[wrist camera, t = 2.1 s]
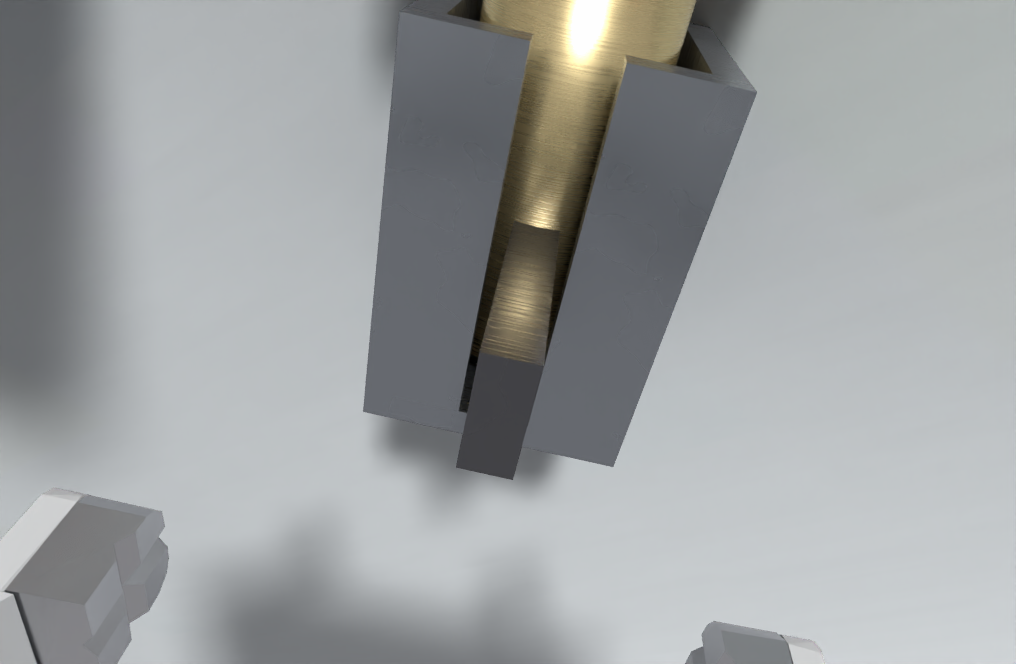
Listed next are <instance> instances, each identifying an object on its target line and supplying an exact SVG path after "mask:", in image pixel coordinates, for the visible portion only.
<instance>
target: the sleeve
mask: <svg viewBox="0 0 1016 664" xmlns="http://www.w3.org/2000/svg"><path fill="white" fill-rule="evenodd" d="M482 4H483V0H417V1H415V2H414V3H412V4H410V5H409V6H407V7H406V8H404V9H403V10H401V11H399V22H398V33H397V44H396V55H395V66H394V77H393V88H392V99H391V110H390V121H389V132H388V143H387V154H386V165H385V176H384V187H383V198H382V209H381V221H380V232H379V243H378V254H377V265H376V276H375V287H374V298H373V309H372V320H371V331H370V342H369V353H368V364H367V375H366V386H365V397H364V408H363V412H367V413H372V414H376V415H381V416H385V417H390V418H394V419H399V420H403V421H408V422H412V423H417V424H421V425H426V426H430V427H435V428H439V429H444V430H448V431H453V432H457V433H462V434H463V431H464V426H465V421H466V416H467V411H468V406H469V401H470V396H471V391H472V386H473V382H474V377H475V372H476V367H477V362H478V357H476V356H474V355H472V354H471V352H472V347H473V342H474V336H475V331H476V326H477V321H478V316H479V311H480V306H481V301H482V295H483V290H484V285H485V280H486V275H487V270H488V265H489V260H490V254H491V249H492V244H493V239H494V234H495V229H496V224H497V219H498V213H499V208H500V203H501V198H502V193H503V188H504V183H505V178H506V172H507V167H508V162H509V157H510V152H511V147H512V142H513V137H514V132H515V126H516V121H517V116H518V111H519V106H520V101H521V96H522V91H523V85H524V80H525V75H526V70H527V65H528V60H529V55H530V50H531V44H532V39H533V34H532V33H528V32H524V31H519V30H515V29H510V28H506V27H502V26H497V25H493V24H488V23H484V22H480V17H481V10H482ZM756 94H757V91H756V90H755V89H754V87H753V86H752V85H751V83H750V82H749V81H748V79H747V78H746V76H745V75H744V74H743V72H742V71H741V70H740V68H739V67H738V65H737V64H736V63H735V61H734V60H733V59H732V57H731V56H730V55H729V53H728V52H727V50H726V49H725V48H724V46H723V45H722V44H721V42H720V41H719V39H718V38H717V37H716V35H715V34H714V33H713V31H712V30H711V29H710V28H709V27H704V26H700V25H696V24H691V23H689V26H688V29H687V32H686V36H685V39H684V42H683V45H682V48H681V52H680V55H679V58H678V61H677V64H676V66H674V65H670V64H665V63H661V62H656V61H652V60H648V59H643V58H639V57H634V56H630V55H626V56H625V59H624V63H623V67H622V71H621V74H620V78H619V82H618V85H617V89H616V93H615V96H614V100H613V104H612V108H611V111H610V115H609V119H608V122H607V126H606V130H605V133H604V137H603V141H602V145H601V148H600V152H599V156H598V159H597V163H596V167H595V170H594V174H593V178H592V182H591V185H590V189H589V193H588V196H587V200H586V204H585V207H584V211H583V215H582V219H581V222H580V226H579V230H578V233H577V237H576V241H575V244H574V248H573V252H572V256H571V259H570V263H569V267H568V270H567V274H566V278H565V281H564V285H563V289H562V293H561V296H560V300H559V304H558V307H557V311H556V315H555V318H554V322H553V326H552V330H551V333H550V337H549V341H548V344H547V348H546V352H545V359H544V367H543V370H542V374H541V378H540V382H539V385H538V389H537V393H536V396H535V400H534V404H533V407H532V411H531V415H530V418H529V422H528V426H527V429H526V433H525V437H524V440H523V444H522V447H525V448H530V449H534V450H539V451H543V452H548V453H552V454H557V455H561V456H566V457H570V458H575V459H579V460H584V461H588V462H593V463H597V464H602V465H606V466H611V467H613V466H614V463H615V461H616V458H617V456H618V453H619V450H620V448H621V445H622V443H623V440H624V437H625V435H626V432H627V430H628V427H629V424H630V422H631V419H632V417H633V414H634V411H635V409H636V406H637V404H638V401H639V398H640V396H641V393H642V391H643V388H644V385H645V383H646V380H647V378H648V375H649V372H650V370H651V367H652V365H653V362H654V359H655V357H656V354H657V352H658V349H659V346H660V344H661V341H662V339H663V336H664V333H665V331H666V328H667V325H668V323H669V320H670V318H671V315H672V312H673V310H674V307H675V305H676V302H677V299H678V297H679V294H680V292H681V289H682V286H683V284H684V281H685V279H686V276H687V273H688V271H689V268H690V266H691V263H692V260H693V258H694V255H695V253H696V250H697V247H698V245H699V242H700V240H701V237H702V234H703V232H704V229H705V227H706V224H707V221H708V219H709V216H710V214H711V211H712V208H713V206H714V203H715V200H716V198H717V195H718V193H719V190H720V187H721V185H722V182H723V180H724V177H725V174H726V172H727V169H728V167H729V164H730V161H731V159H732V156H733V154H734V151H735V148H736V146H737V143H738V141H739V138H740V135H741V133H742V130H743V128H744V125H745V122H746V120H747V117H748V115H749V112H750V109H751V107H752V104H753V102H754V99H755V96H756Z"/></svg>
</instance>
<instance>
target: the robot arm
mask: <svg viewBox="0 0 1016 664" xmlns="http://www.w3.org/2000/svg"><path fill="white" fill-rule="evenodd" d="M164 527H165V524H164V519H163V514H162V511H159V510H154V509H150V508H145V507H141V506H136V505H132V504H127V503H122V502H118V501H113V500H109V499H104V498H100V497H95V496H91V495H87V494H82V493H78V492H73V491H68V490H63V489H58V488H52V489H50V490H49V491H47V492H45V493H44V494H42V495H40V496H39V497H38V498H37V499H36V501H35V502H34V503H33V504H32V505H31V506H30V507H29V508H28V509H27V511H26V512H25V513H24V514H23V515H22V516H21V517H20V518H19V519H18V521H17V522H16V523H15V524H14V525H13V526H12V527H11V528H10V529H9V531H8V532H7V533H6V534H5V535H4V536H3V537H2V538H1V539H0V664H117V663H118V661H119V660H120V658H121V656H122V655H123V653H124V652H125V650H126V648H127V647H128V645H129V643H130V642H131V640H132V638H131V631H130V624H129V623H130V622H132V621H134V620H135V619H137V618H139V617H140V616H142V615H143V614H145V613H147V612H148V611H149V610H150V608H151V606H152V605H153V603H154V601H155V600H156V598H157V596H158V594H159V593H160V590H161V587H162V584H163V582H164V579H165V576H166V573H167V568H168V560H169V555H168V547H167V546H166V545H165V543H164V542H163V541H162V540H161V539H160V538H159V535H160V533H161V532H162V530H163V529H164ZM702 641H703V647H700V648H698V649H696V650H694V651H691V653H690V655H689V657H688V659H687V661H686V663H685V664H825V661H824V658H823V655H822V651H821V649H820V648H819V646H818V645H817V644H816V642H814V641H811V640H807V639H802V638H796V637H791V636H785V635H779V634H778V633H776V632H770V631H765V630H759V629H754V628H749V627H743V626H738V625H732V624H727V623H721V622H716V621H713V622H711V623H709V624H708V625H707V626H706V628H705V630H704V631H703V633H702Z"/></svg>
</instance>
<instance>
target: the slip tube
mask: <svg viewBox="0 0 1016 664" xmlns="http://www.w3.org/2000/svg"><path fill="white" fill-rule="evenodd" d="M695 4H696V0H483V4H482V10H481V17H480V22H484V23H488V24H493V25H497V26H502V27H506V28H510V29H515V30H519V31H524V32H528V33H532V34H533V39H532V44H531V50H530V55H529V60H528V65H527V70H526V75H525V80H524V85H523V91H522V96H521V101H520V106H519V111H518V116H517V121H516V126H515V132H514V137H513V142H512V147H511V152H510V157H509V162H508V167H507V172H506V178H505V183H504V188H503V193H502V198H501V203H500V208H499V213H498V219H497V224H496V229H495V234H494V239H493V244H492V249H491V254H490V260H489V265H488V270H487V275H486V280H485V285H484V290H483V295H482V301H481V306H480V311H479V316H478V321H477V326H476V331H475V336H474V342H473V347H472V352H471V354H472V355H474V356H476V357H478V362H477V367H476V372H475V377H474V382H473V386H472V391H471V396H470V401H469V406H468V411H467V416H466V421H465V426H464V431H463V436H462V441H461V445H460V450H459V455H458V460H457V465H456V467H457V468H461V469H466V470H470V471H475V472H479V473H484V474H488V475H493V476H497V477H502V478H506V479H511V480H513V477H514V473H515V470H516V466H517V462H518V459H519V455H520V451H521V448H522V444H523V440H524V437H525V433H526V429H527V426H528V422H529V418H530V415H531V411H532V407H533V404H534V400H535V396H536V393H537V389H538V385H539V382H540V378H541V374H542V370H543V367H544V359H545V352H546V348H547V344H548V341H549V337H550V333H551V330H552V326H553V322H554V318H555V315H556V311H557V307H558V304H559V300H560V296H561V293H562V289H563V285H564V281H565V278H566V274H567V270H568V267H569V263H570V259H571V256H572V252H573V248H574V244H575V241H576V237H577V233H578V230H579V226H580V222H581V219H582V215H583V211H584V207H585V204H586V200H587V196H588V193H589V189H590V185H591V182H592V178H593V174H594V170H595V167H596V163H597V159H598V156H599V152H600V148H601V145H602V141H603V137H604V133H605V130H606V126H607V122H608V119H609V115H610V111H611V108H612V104H613V100H614V96H615V93H616V89H617V85H618V82H619V78H620V74H621V71H622V67H623V63H624V59H625V56H626V55H630V56H634V57H639V58H643V59H648V60H652V61H656V62H661V63H665V64H670V65H674V66H676V64H677V61H678V58H679V55H680V52H681V48H682V45H683V42H684V39H685V36H686V32H687V29H688V26H689V23H690V20H691V16H692V13H693V10H694V7H695Z"/></svg>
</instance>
